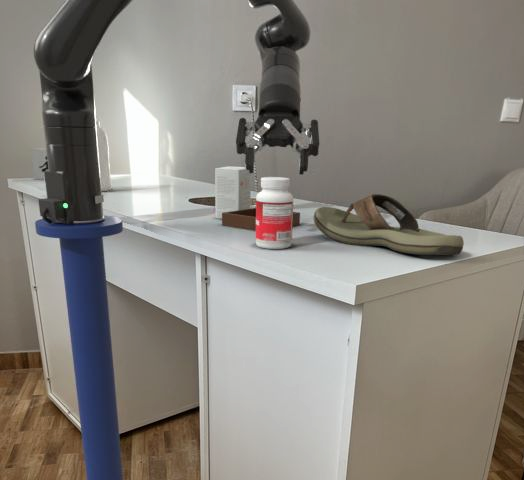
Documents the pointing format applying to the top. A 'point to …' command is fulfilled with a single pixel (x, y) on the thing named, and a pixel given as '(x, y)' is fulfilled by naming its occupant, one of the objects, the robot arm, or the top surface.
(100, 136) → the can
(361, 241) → the flip flop
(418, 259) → the top surface
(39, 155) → the icon cube
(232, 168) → the small box
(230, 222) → the tray
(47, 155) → the robot arm
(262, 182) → the pill bottle
